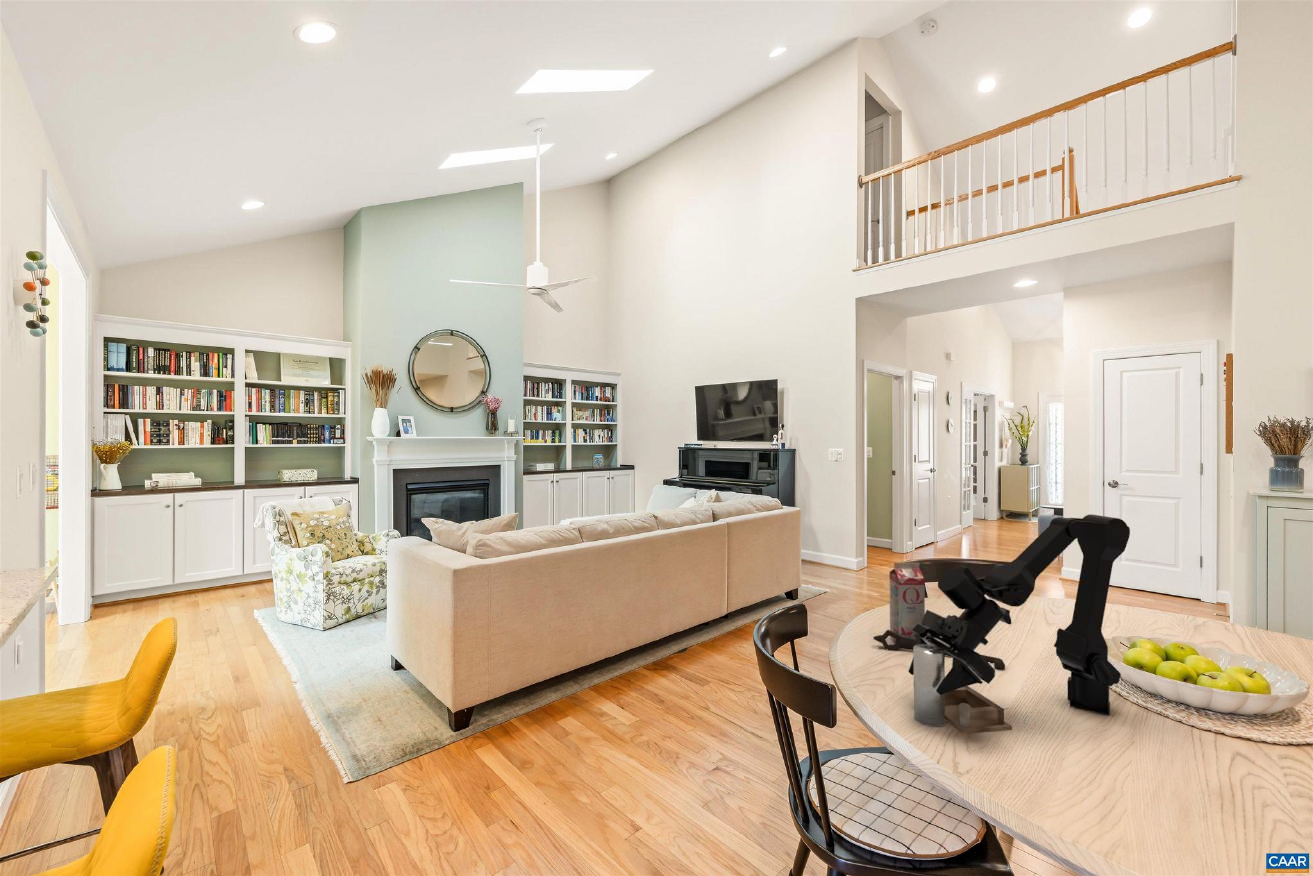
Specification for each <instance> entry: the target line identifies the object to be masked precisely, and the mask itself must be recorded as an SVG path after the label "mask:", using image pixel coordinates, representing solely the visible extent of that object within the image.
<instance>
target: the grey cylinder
mask: <svg viewBox="0 0 1313 876" xmlns="http://www.w3.org/2000/svg"><path fill="white" fill-rule="evenodd" d="M912 651H913V657H914V675H913V719H914V720H915V721H916V722H918V723H919V724H922V725H924V726H927V727H933V728H938V727H943V726H944V725H945V724H946V719H945V694H942V695H940V694H938V693H937V692H936V690H937V688H938V686H939V685H940V683H941V682H942V680H943V679H944V678H945V676H946V673H945V672H946V669H945V668H946V667H945V666H946V664H945V662H946V661H945V660H946V657H945V651H944V650H943V649H942V648H940V647H937V646H934V645H928V644H918V645H915V646H914V647H913V650H912Z"/></svg>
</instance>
